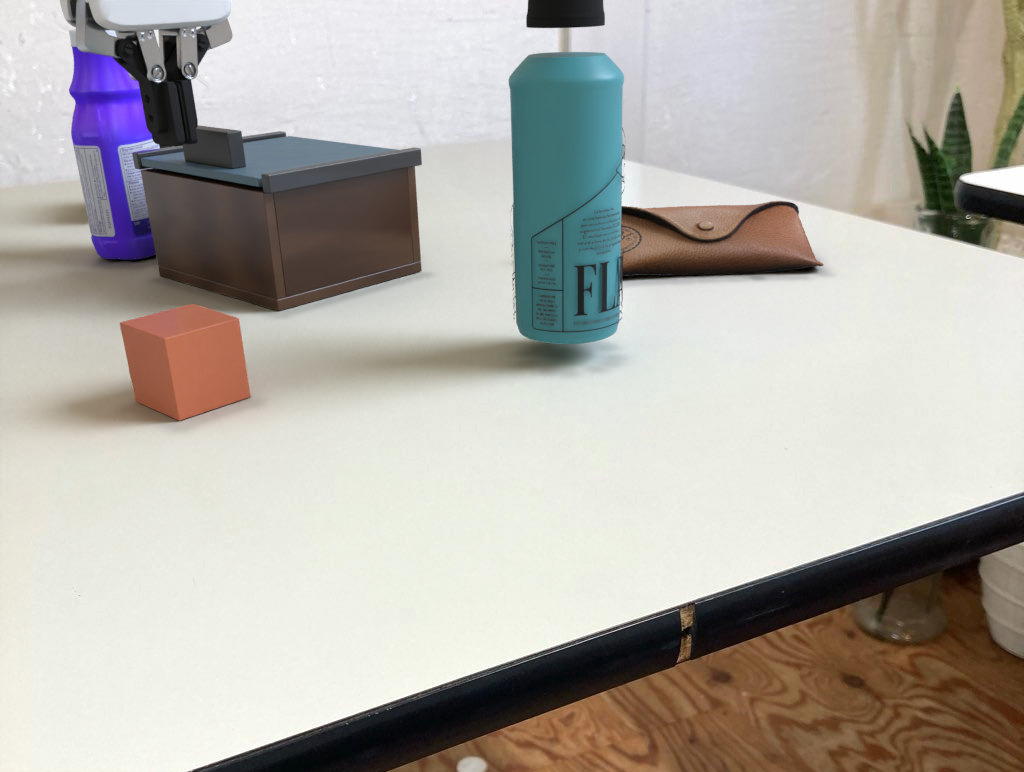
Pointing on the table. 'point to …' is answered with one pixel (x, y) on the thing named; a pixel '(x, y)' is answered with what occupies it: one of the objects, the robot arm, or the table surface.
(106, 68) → the bottle
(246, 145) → the lid
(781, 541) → the table surface
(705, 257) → the sunglasses case
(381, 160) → the box
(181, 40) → the robot arm
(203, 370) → the block
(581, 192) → the beverage bottle
